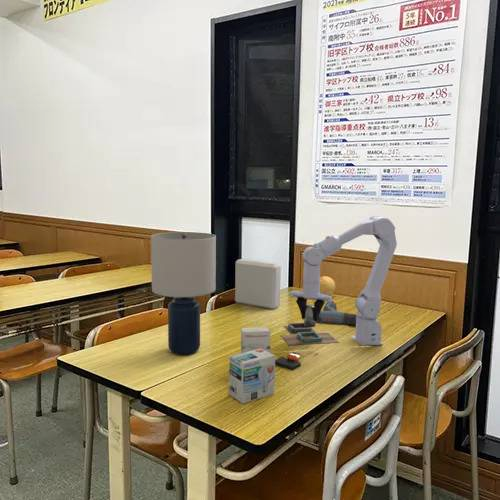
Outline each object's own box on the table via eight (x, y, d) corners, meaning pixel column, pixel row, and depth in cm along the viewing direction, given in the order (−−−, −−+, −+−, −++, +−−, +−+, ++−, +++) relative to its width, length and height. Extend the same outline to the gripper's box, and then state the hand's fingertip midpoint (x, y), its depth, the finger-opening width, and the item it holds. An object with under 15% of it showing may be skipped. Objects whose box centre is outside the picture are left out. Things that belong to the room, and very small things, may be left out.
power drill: (361, 314, 201) (362, 328, 182) (317, 311, 205) (313, 325, 186) (361, 302, 200) (363, 315, 181) (317, 299, 204) (314, 311, 185)
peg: (317, 325, 165) (318, 306, 164) (310, 328, 162) (311, 308, 161) (309, 323, 168) (309, 304, 167) (301, 325, 165) (302, 305, 164)
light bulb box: (242, 404, 118) (243, 363, 117) (227, 394, 124) (228, 355, 122) (275, 394, 124) (276, 355, 123) (260, 384, 130) (261, 347, 128)
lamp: (155, 365, 142) (153, 237, 136) (150, 342, 162) (149, 230, 156) (220, 359, 148) (221, 236, 142) (209, 338, 167) (209, 229, 161)
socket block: (316, 334, 173) (316, 329, 172) (290, 336, 171) (290, 330, 170) (307, 326, 182) (307, 321, 182) (282, 327, 180) (283, 322, 180)
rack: (338, 344, 163) (339, 338, 163) (289, 347, 159) (289, 341, 159) (328, 334, 173) (328, 329, 172) (280, 337, 169) (281, 332, 168)
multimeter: (297, 347, 161) (297, 337, 160) (326, 356, 152) (326, 346, 152) (261, 361, 148) (261, 351, 147) (291, 373, 139) (291, 362, 139)
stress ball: (331, 296, 234) (317, 281, 237) (342, 284, 228) (328, 269, 231) (321, 303, 227) (307, 288, 230) (332, 290, 221) (317, 275, 224)
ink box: (268, 362, 145) (268, 326, 144) (270, 369, 140) (271, 331, 139) (240, 363, 144) (240, 326, 143) (241, 370, 140) (242, 331, 138)
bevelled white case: (282, 306, 211) (283, 262, 208) (273, 310, 204) (274, 265, 201) (243, 299, 222) (243, 257, 219) (233, 303, 215) (233, 260, 212)
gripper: (335, 281, 163) (333, 319, 165) (295, 277, 169) (294, 313, 171) (329, 285, 157) (327, 324, 159) (288, 280, 163) (287, 318, 165)
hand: (310, 319), depth 165 cm, fingers closed on peg, 4 cm apart
